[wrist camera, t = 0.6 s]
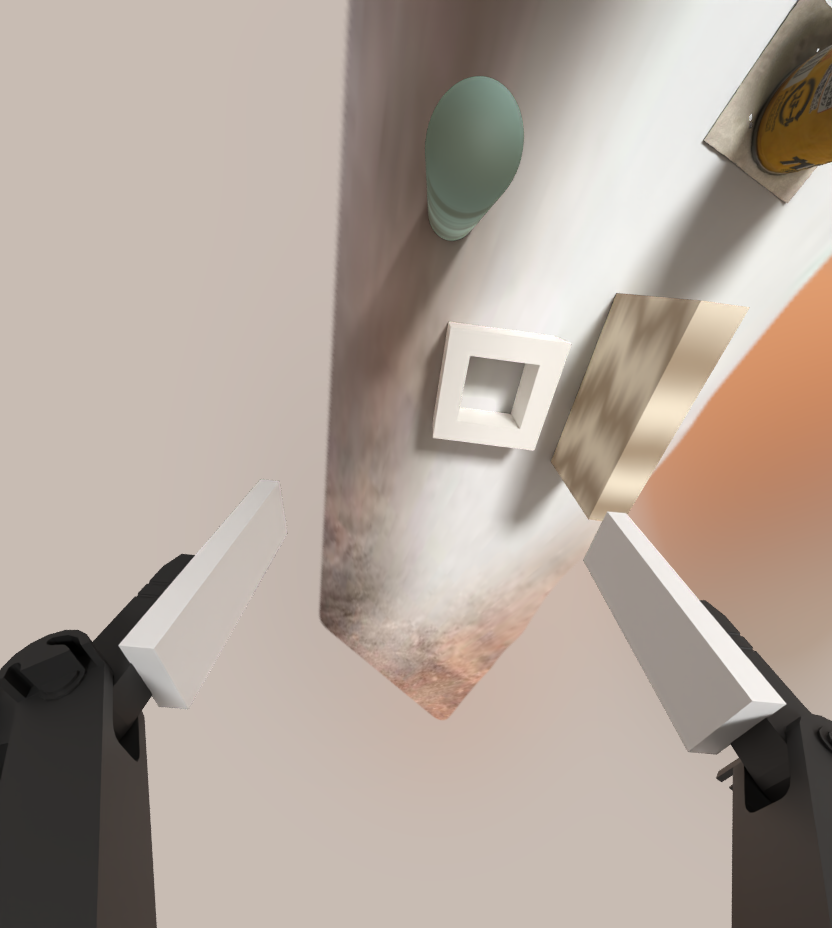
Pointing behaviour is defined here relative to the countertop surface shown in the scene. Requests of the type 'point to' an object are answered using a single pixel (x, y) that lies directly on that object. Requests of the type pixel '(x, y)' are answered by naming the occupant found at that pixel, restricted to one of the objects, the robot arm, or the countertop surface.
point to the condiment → (784, 105)
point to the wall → (638, 394)
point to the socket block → (532, 395)
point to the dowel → (470, 154)
